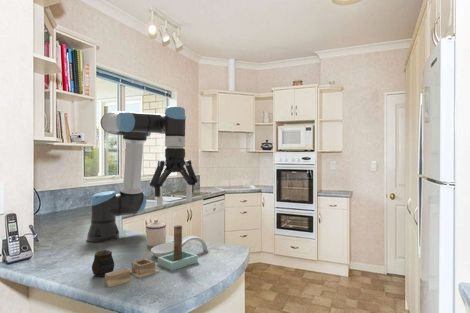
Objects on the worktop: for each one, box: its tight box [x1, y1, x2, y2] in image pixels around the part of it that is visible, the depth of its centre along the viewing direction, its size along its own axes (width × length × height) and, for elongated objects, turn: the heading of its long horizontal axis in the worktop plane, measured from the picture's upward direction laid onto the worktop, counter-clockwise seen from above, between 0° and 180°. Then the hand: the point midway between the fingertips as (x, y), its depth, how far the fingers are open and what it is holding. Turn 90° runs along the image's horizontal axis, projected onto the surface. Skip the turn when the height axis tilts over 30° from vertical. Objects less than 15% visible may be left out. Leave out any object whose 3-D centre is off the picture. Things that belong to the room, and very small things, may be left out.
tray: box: [157, 249, 199, 272], centre depth 119 cm, size 9×12×3 cm
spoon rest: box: [150, 235, 208, 258], centre depth 132 cm, size 24×12×7 cm, turn 116°
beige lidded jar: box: [145, 218, 167, 247], centre depth 147 cm, size 12×9×12 cm
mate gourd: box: [91, 249, 115, 278], centre depth 109 cm, size 7×8×10 cm
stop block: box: [104, 267, 131, 288], centre depth 101 cm, size 3×7×4 cm, turn 136°
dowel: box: [173, 225, 183, 261], centre depth 119 cm, size 3×3×14 cm
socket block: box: [129, 257, 160, 279], centre depth 111 cm, size 8×8×4 cm
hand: (174, 203), depth 119 cm, fingers open, 13 cm apart
